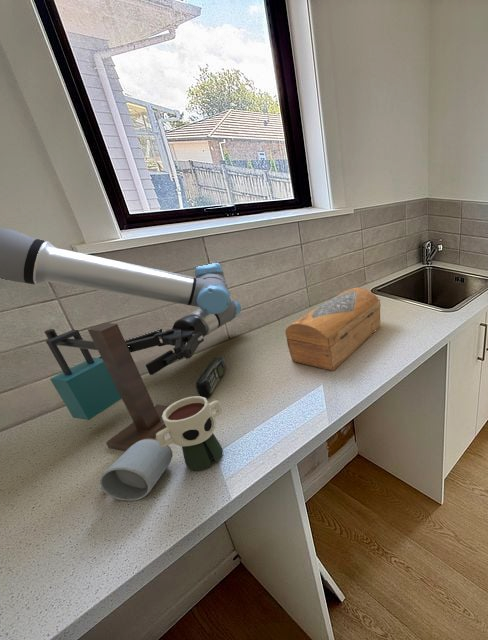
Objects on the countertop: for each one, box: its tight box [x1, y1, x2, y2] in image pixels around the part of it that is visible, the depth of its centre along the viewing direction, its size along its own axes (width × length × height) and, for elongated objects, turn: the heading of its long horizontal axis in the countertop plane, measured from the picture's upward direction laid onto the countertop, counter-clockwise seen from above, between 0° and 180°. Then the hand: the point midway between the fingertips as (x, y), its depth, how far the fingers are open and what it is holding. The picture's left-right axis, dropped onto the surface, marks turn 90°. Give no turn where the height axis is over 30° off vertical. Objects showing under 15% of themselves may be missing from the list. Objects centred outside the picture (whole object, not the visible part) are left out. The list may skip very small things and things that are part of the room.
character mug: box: [155, 395, 224, 471], centre depth 64 cm, size 11×7×13 cm, turn 149°
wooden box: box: [284, 287, 381, 371], centre depth 106 cm, size 30×16×14 cm, turn 159°
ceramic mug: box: [98, 438, 174, 502], centre depth 60 cm, size 11×8×8 cm
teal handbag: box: [45, 329, 122, 421], centre depth 69 cm, size 4×8×18 cm, turn 170°
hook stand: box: [43, 322, 169, 452], centre depth 69 cm, size 18×12×26 cm
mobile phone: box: [195, 356, 226, 399], centre depth 88 cm, size 5×3×15 cm
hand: (123, 367), depth 77 cm, fingers open, 13 cm apart
